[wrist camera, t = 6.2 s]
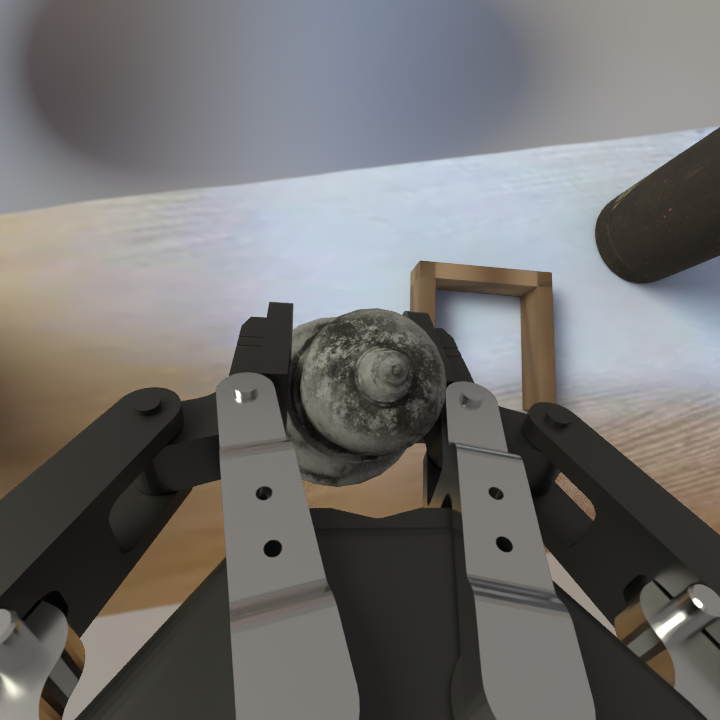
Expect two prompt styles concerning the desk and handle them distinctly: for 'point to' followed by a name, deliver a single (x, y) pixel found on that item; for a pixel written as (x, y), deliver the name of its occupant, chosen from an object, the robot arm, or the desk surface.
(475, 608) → the robot arm
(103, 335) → the desk surface
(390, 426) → the stone finial
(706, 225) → the container
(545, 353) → the wooden arch
